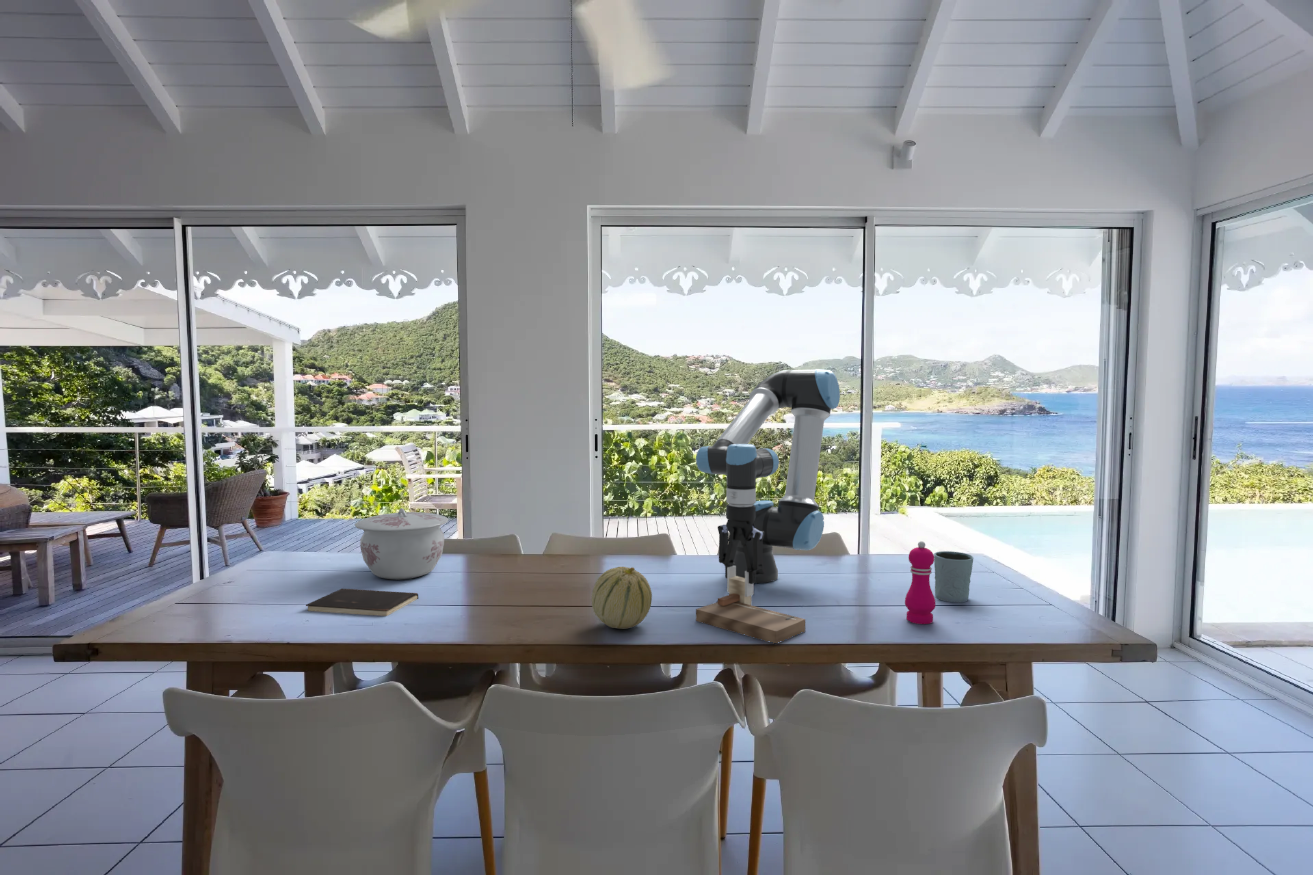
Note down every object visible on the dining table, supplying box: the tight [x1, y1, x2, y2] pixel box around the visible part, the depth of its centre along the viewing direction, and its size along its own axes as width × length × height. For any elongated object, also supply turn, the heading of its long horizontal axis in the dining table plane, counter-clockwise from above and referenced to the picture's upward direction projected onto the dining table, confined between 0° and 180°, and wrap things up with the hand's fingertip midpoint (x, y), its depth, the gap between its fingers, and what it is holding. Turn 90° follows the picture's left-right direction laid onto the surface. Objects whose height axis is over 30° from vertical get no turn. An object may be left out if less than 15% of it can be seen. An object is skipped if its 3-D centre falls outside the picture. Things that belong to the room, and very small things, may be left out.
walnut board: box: [695, 601, 806, 644], centre depth 182 cm, size 24×12×3 cm, turn 46°
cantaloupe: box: [591, 566, 653, 630], centre depth 181 cm, size 15×15×15 cm
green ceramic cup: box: [933, 550, 974, 603], centre depth 205 cm, size 10×10×12 cm
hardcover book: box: [305, 588, 419, 617], centre depth 199 cm, size 16×23×2 cm
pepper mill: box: [904, 540, 936, 625], centre depth 186 cm, size 7×7×20 cm
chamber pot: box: [354, 508, 450, 581], centre depth 230 cm, size 28×28×21 cm
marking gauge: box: [717, 576, 752, 606], centre depth 192 cm, size 5×11×8 cm, turn 136°
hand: (740, 593), depth 193 cm, fingers closed on marking gauge, 5 cm apart
